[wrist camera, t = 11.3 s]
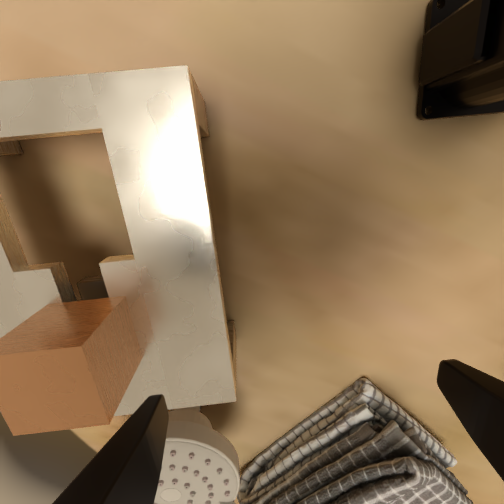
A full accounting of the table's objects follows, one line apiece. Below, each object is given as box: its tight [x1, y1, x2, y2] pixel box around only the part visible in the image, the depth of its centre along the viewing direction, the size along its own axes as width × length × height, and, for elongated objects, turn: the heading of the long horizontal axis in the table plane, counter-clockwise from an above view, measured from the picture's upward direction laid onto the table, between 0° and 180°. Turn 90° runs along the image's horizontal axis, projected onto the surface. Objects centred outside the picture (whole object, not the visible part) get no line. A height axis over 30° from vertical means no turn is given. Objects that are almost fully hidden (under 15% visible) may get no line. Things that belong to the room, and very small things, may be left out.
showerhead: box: [154, 406, 240, 504], centre depth 20 cm, size 9×7×10 cm
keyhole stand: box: [0, 65, 236, 423], centre depth 16 cm, size 14×18×6 cm
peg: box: [0, 275, 142, 436], centre depth 14 cm, size 4×4×8 cm
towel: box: [237, 378, 473, 504], centre depth 24 cm, size 15×18×8 cm
